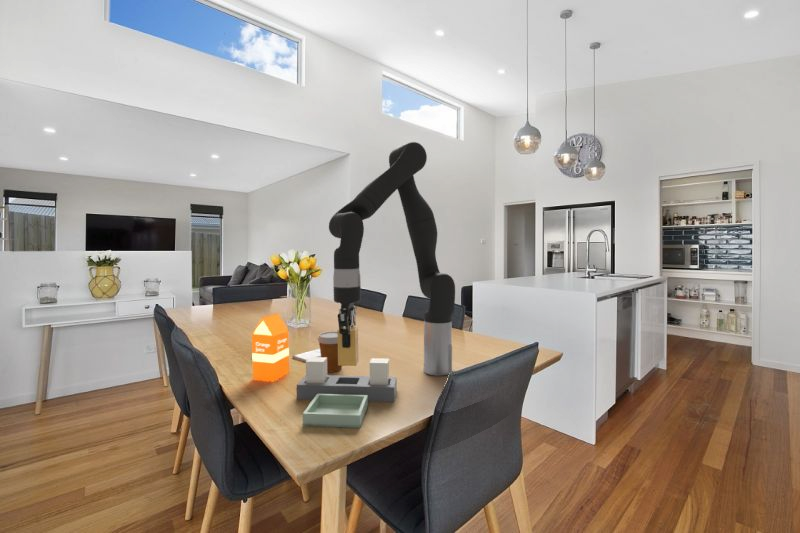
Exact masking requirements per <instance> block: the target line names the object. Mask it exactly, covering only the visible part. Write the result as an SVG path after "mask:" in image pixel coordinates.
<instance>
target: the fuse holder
mask: <svg viewBox="0 0 800 533" xmlns="http://www.w3.org/2000/svg"><path fill="white" fill-rule="evenodd" d="M397 387H398V386H397V376H389V385H370V375H337V374H336V375H333V374H331V375H330V374H327V381H326V383H325V384H324V383H306V374H305V375H304V376H303V377H302V378H301V380H300V381H299V382H298V383H297V384H296V400H313V399H314V397H315V396H316V395H317V394H345V395H368V402H389V403H390V402H391V403H395V401H396V400H395V399H396V394H397Z"/></svg>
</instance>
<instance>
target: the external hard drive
mask: <svg viewBox="0 0 800 533" xmlns="http://www.w3.org/2000/svg"><path fill="white" fill-rule="evenodd" d="M310 357H321V352H320V348H316V349H313V350H310V351H306V352H302V353H298V354H293V355H292V358H293V359H294V360H298V361H300V362H304V363H306V361H307V360H308V359H309V358H310Z"/></svg>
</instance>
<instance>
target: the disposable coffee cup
mask: <svg viewBox="0 0 800 533" xmlns="http://www.w3.org/2000/svg"><path fill="white" fill-rule="evenodd" d="M317 341H318V343H319V344H318V345H319V349H320V352H321V357H327V373H336V372H339V371H341V370H342V368H343V367H342V366H338V335H337V331H325V332H321V333H319V335H318V338H317Z"/></svg>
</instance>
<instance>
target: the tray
mask: <svg viewBox="0 0 800 533" xmlns="http://www.w3.org/2000/svg"><path fill="white" fill-rule="evenodd" d="M368 407H369V401H368V395H345V394H317V395H316V396H315V397H314V399H311V401H310V403H309V404H308V406H307V407H306V408H305V410H304V411H303V412H302V427H316V428H317V427H318V428H319V427H320V428H344V429H345V428H349V429H350V428H351V429H361V427H362V424H363V421H364V418H365V416H366V413H367V410H368Z"/></svg>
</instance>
